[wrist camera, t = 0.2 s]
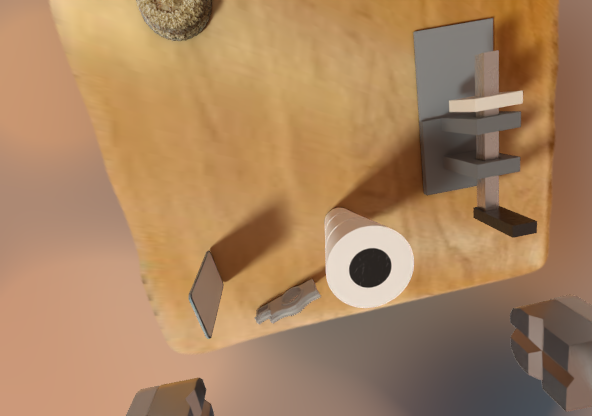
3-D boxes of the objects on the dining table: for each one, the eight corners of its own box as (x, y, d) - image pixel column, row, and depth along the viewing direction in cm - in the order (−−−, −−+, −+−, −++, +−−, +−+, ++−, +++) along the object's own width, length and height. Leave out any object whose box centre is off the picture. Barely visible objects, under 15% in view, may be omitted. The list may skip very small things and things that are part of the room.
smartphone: (224, 284, 59) (210, 340, 44) (221, 285, 59) (206, 341, 44) (209, 249, 57) (190, 295, 42) (206, 249, 57) (186, 296, 42)
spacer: (448, 100, 50) (474, 99, 43) (491, 93, 50) (522, 90, 44) (449, 111, 50) (475, 112, 44) (491, 104, 50) (522, 103, 44)
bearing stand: (419, 121, 54) (454, 123, 44) (491, 108, 55) (543, 107, 45) (423, 193, 58) (457, 211, 47) (492, 180, 58) (539, 195, 48)
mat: (413, 32, 50) (414, 31, 50) (491, 18, 51) (492, 18, 51) (419, 121, 54) (420, 121, 54) (491, 108, 55) (493, 108, 54)
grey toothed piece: (259, 315, 61) (259, 336, 56) (254, 308, 61) (253, 328, 55) (317, 283, 61) (322, 300, 55) (312, 275, 60) (317, 292, 54)
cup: (302, 246, 58) (318, 303, 41) (313, 186, 56) (334, 220, 38) (362, 253, 60) (402, 311, 42) (375, 195, 57) (423, 231, 40)
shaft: (470, 56, 45) (515, 43, 37) (493, 51, 45) (543, 38, 37) (473, 217, 52) (512, 237, 44) (493, 213, 52) (536, 232, 44)
